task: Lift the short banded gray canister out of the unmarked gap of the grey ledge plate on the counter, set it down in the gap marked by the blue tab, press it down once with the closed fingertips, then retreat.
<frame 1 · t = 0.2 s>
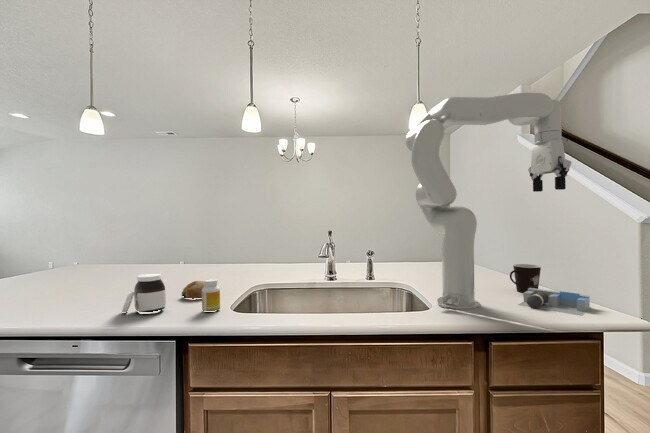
hand: (548, 190, 114), 37 cm above the worktop, tool pointing down, fingers open, 9 cm apart
grey ledge plate: (553, 307, 105), on the worktop
bread roll: (196, 298, 126), on the worktop
banded gray canister: (537, 305, 106), point 1 cm above the worktop, touching grey ledge plate
supplement bottle: (211, 311, 108), on the worktop
coffee mug: (522, 293, 124), on the worktop
spread jar: (143, 313, 108), on the worktop
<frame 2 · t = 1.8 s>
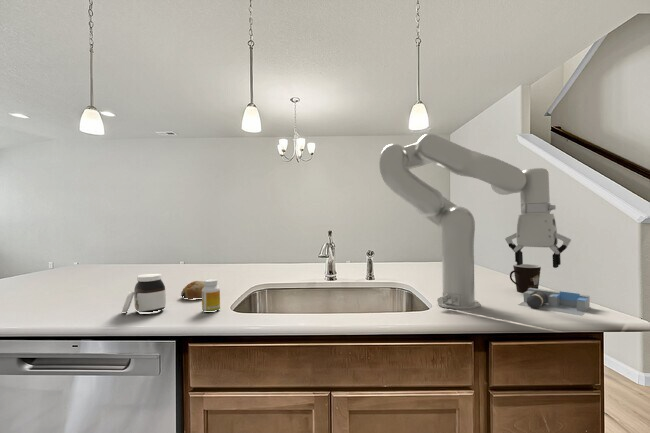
hand: (537, 265, 104), 13 cm above the worktop, tool pointing down, fingers open, 9 cm apart
nothing on the worktop moved.
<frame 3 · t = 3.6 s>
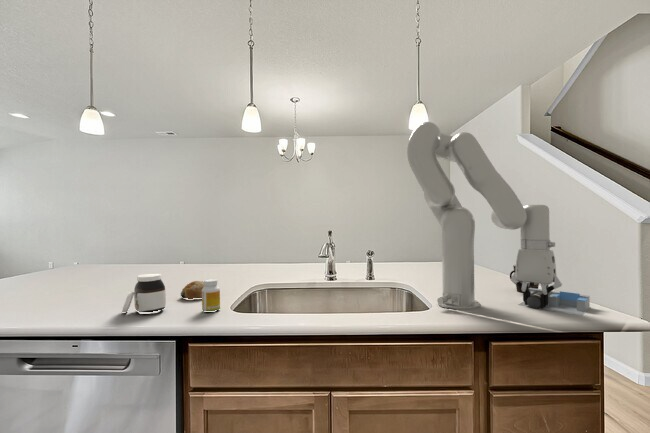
hand: (535, 304, 105), 1 cm above the worktop, tool pointing down, fingers closed on banded gray canister, 3 cm apart
banded gray canister: (537, 305, 106), point 1 cm above the worktop, touching grey ledge plate, gripper
everything else where it was.
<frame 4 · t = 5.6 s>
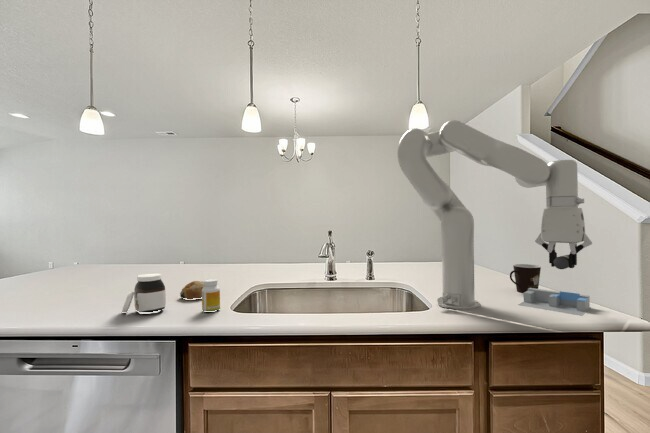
hand: (562, 266, 99), 14 cm above the worktop, tool pointing down, fingers closed on banded gray canister, 3 cm apart
banded gray canister: (565, 268, 100), point 13 cm above the worktop, tilted 8°, touching gripper
everything else where it was.
when the fingers open (2 cm above the worktop, at t = 7.9 s): banded gray canister stays where it is, resting on grey ledge plate.
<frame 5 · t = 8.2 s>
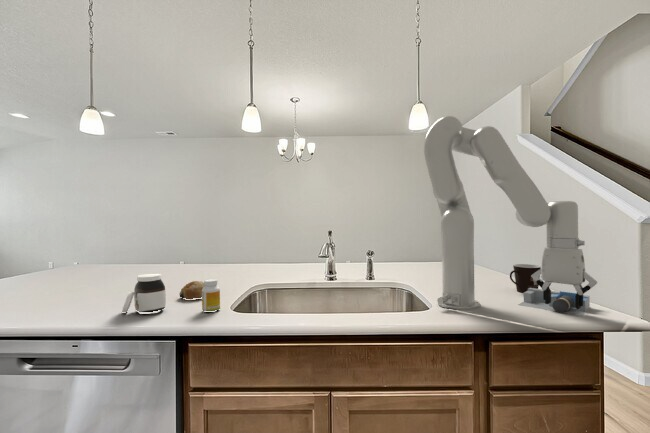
hand: (562, 305, 99), 2 cm above the worktop, tool pointing down, fingers open, 6 cm apart
banded gray canister: (565, 310, 101), point 1 cm above the worktop, tilted 17°, touching grey ledge plate
everything else where it was.
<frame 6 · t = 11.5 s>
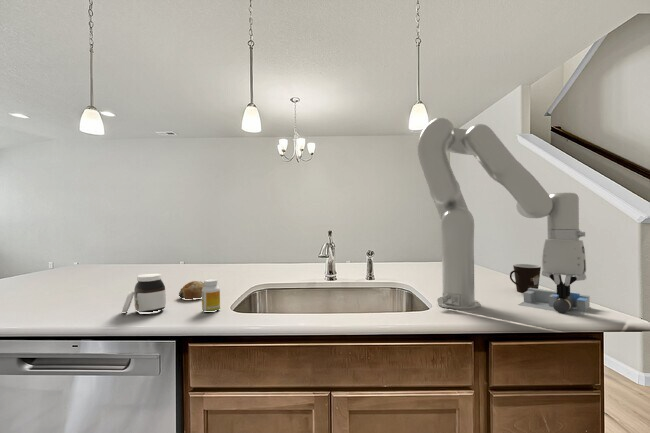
hand: (563, 298, 100), 4 cm above the worktop, tool pointing down, fingers closed
banded gray canister: (565, 310, 101), point 1 cm above the worktop, tilted 10°, touching grey ledge plate
everything else where it was.
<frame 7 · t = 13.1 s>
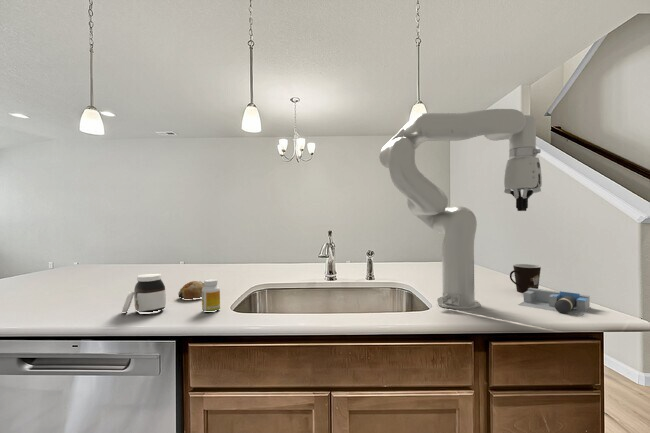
hand: (521, 210, 112), 30 cm above the worktop, tool pointing down, fingers closed
banded gray canister: (565, 310, 101), point 1 cm above the worktop, touching grey ledge plate
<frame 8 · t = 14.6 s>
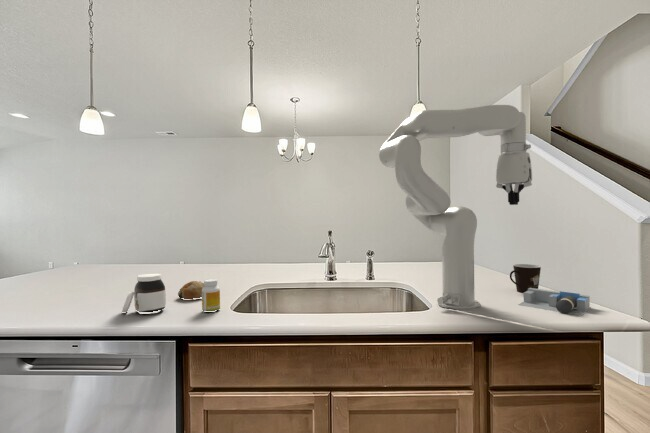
hand: (513, 204, 116), 32 cm above the worktop, tool pointing down, fingers closed
banded gray canister: (565, 310, 101), point 1 cm above the worktop, tilted 10°, touching grey ledge plate
at the end: banded gray canister 0.2 cm from the target spot on the grey ledge plate, point 0.7 cm above the grey ledge plate's base; banded gray canister point 0.7 cm above the worktop; the gripper is holding nothing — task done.
